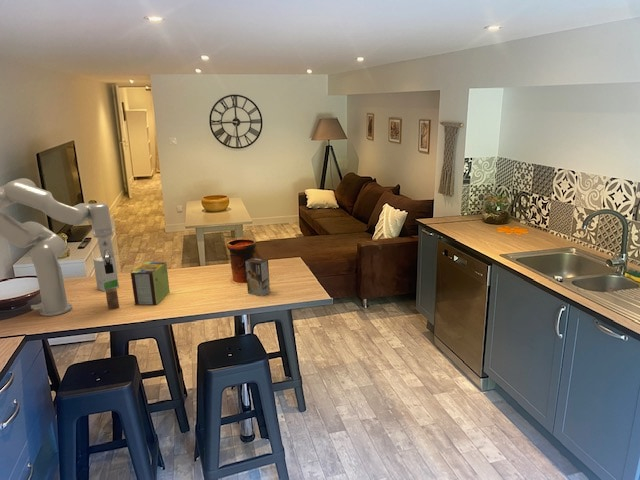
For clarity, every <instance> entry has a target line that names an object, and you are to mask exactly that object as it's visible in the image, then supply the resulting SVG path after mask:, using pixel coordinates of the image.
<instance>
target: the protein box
mask: <svg viewBox="0 0 640 480" xmlns="http://www.w3.org/2000/svg"><path fill="white" fill-rule="evenodd" d="M130 279H131V285H132V286H131V287H132V291H133V298H134V305H138V306H139V305H140V306H141V305H142V306H143V305H144V306H146V305H147V306H157V305H158V304H159V303H160V302H161V301H162V300H164V298H166V297H167V296H168V295H169V294H170V293H171V291H170V282H169V274H168V265H167V261H145V262H143V263H142V264H141V265H139V266H138V267H137V268H135V269H134V270H132V271H131V272H130Z"/></svg>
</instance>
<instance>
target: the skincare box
mask: <svg viewBox="0 0 640 480" xmlns="http://www.w3.org/2000/svg"><path fill="white" fill-rule="evenodd" d="M111 259H112V264H113V270H114V273H110V274H106V272H105V266H104V260H103V259H102V257H101V256H100V257H96V258H93V268H94V274H95V280H96V288H97V290H100V291H101V292H106V289H112V288H116V289H117V288H119V287H120V286H119V277H118V271H117V262H116V257H115V256H114V258H111Z"/></svg>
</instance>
